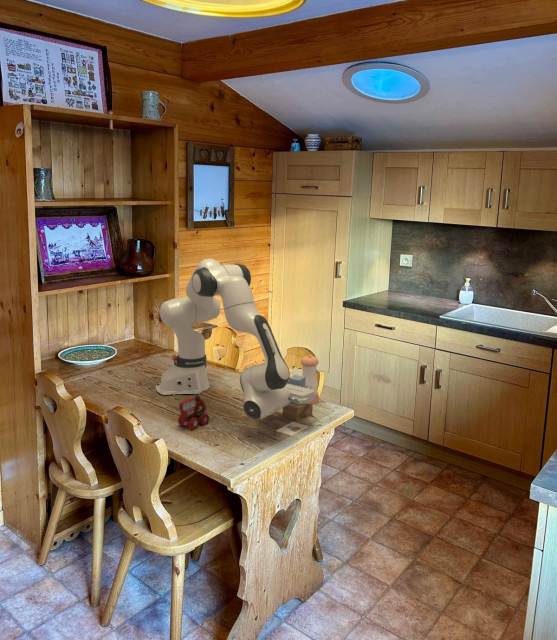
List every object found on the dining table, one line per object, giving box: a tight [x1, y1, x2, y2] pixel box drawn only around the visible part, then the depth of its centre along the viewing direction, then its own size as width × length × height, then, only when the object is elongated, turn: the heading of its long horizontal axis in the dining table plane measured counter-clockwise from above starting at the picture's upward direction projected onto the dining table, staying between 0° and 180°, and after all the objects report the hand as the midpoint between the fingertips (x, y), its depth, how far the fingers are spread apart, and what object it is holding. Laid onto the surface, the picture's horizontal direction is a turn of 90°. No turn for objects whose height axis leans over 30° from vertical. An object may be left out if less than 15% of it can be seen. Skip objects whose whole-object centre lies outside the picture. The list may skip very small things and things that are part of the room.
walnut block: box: [282, 402, 314, 421], centre depth 230 cm, size 8×8×5 cm
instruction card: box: [276, 421, 310, 437], centre depth 217 cm, size 10×7×1 cm
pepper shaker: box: [300, 354, 319, 404], centre depth 242 cm, size 7×7×19 cm
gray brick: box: [289, 374, 306, 406], centre depth 228 cm, size 4×4×10 cm
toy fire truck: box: [177, 394, 210, 431], centre depth 220 cm, size 7×12×10 cm, turn 143°
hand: (299, 385), depth 228 cm, fingers open, 8 cm apart
